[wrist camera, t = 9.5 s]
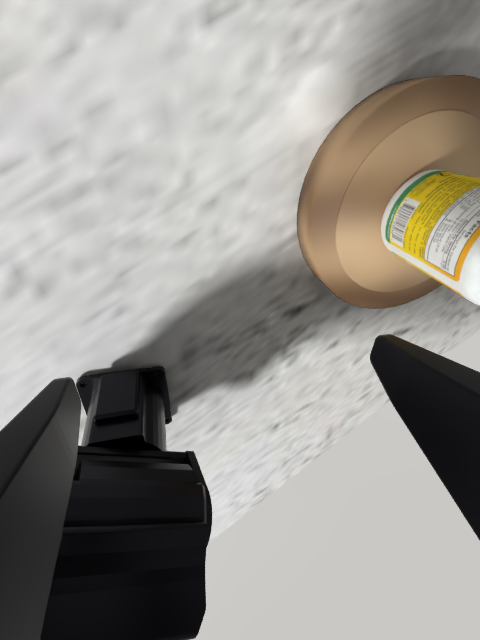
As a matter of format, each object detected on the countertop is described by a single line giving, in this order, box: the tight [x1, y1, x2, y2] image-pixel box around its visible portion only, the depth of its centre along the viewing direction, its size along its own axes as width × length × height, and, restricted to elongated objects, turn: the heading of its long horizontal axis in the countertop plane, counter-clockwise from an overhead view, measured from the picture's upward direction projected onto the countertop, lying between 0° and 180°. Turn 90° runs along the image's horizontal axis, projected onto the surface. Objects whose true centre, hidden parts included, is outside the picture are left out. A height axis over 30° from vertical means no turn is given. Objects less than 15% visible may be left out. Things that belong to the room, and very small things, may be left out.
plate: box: [297, 75, 480, 309], centre depth 21 cm, size 14×14×3 cm
